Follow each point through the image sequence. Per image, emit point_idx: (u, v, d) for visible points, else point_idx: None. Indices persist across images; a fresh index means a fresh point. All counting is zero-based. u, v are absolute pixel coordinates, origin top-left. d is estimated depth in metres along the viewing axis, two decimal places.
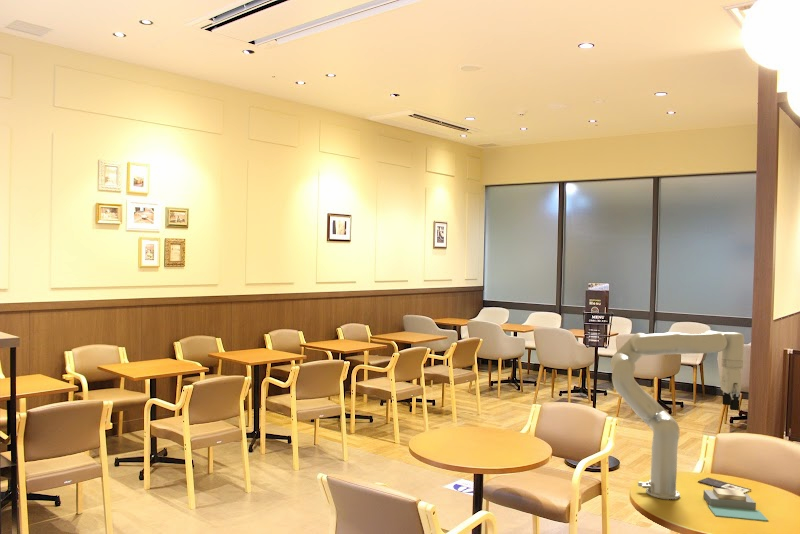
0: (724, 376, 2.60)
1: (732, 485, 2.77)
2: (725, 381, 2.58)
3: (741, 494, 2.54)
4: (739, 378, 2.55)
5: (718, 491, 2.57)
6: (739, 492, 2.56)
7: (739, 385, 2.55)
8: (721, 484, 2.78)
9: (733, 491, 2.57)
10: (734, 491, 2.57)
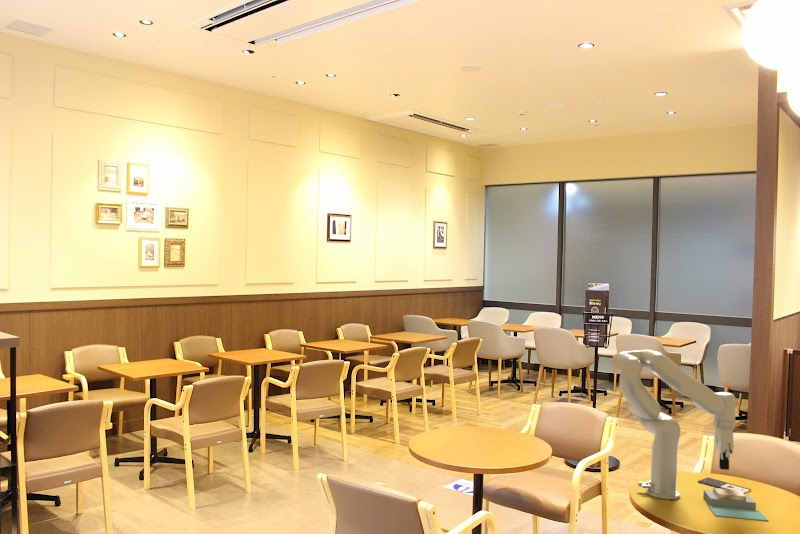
0: (717, 435, 2.66)
1: (731, 485, 2.77)
2: (718, 441, 2.65)
3: (741, 494, 2.54)
4: (731, 438, 2.61)
5: (718, 491, 2.57)
6: (739, 492, 2.56)
7: (732, 445, 2.61)
8: (721, 484, 2.78)
9: (733, 491, 2.57)
10: (734, 491, 2.57)
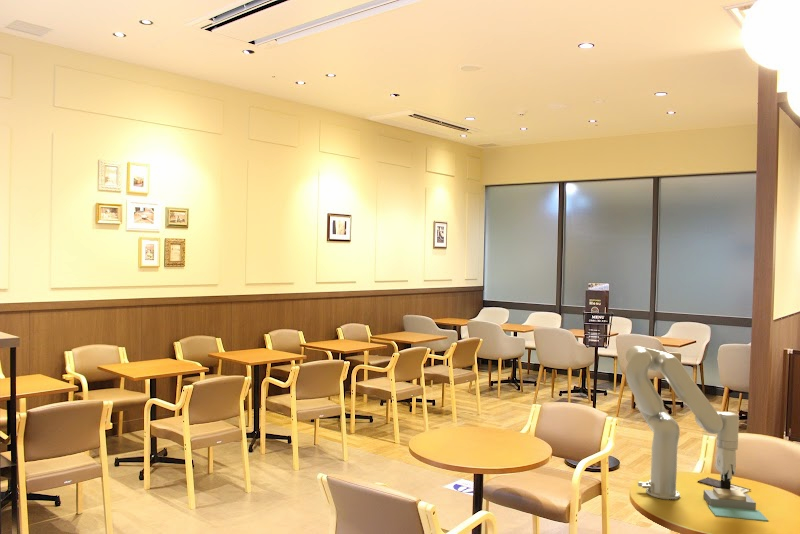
0: (719, 456, 2.61)
1: (731, 485, 2.77)
2: (720, 461, 2.60)
3: (741, 494, 2.54)
4: (734, 459, 2.56)
5: (718, 491, 2.57)
6: (740, 492, 2.56)
7: (734, 466, 2.56)
8: None
9: (733, 491, 2.57)
10: (734, 491, 2.57)
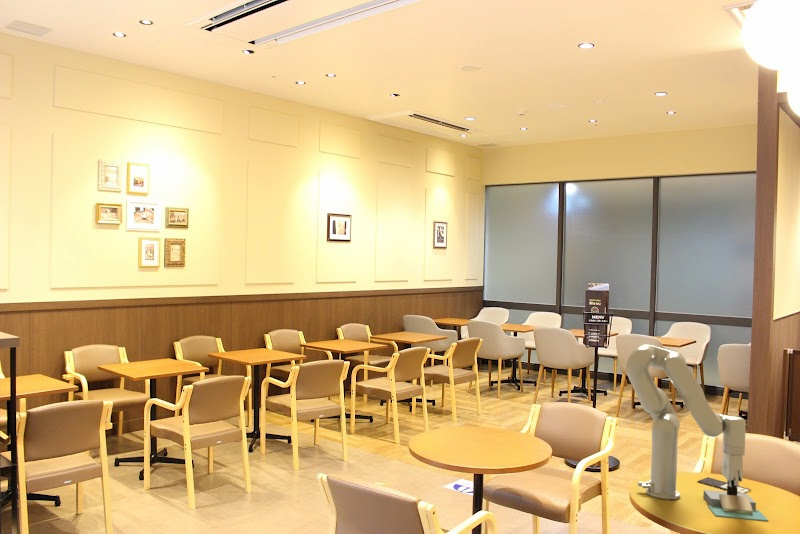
0: (725, 462, 2.53)
1: None
2: (726, 467, 2.52)
3: (748, 506, 2.47)
4: (741, 465, 2.48)
5: (724, 502, 2.49)
6: (747, 503, 2.48)
7: (741, 473, 2.48)
8: (721, 484, 2.78)
9: (740, 500, 2.49)
10: (741, 500, 2.50)
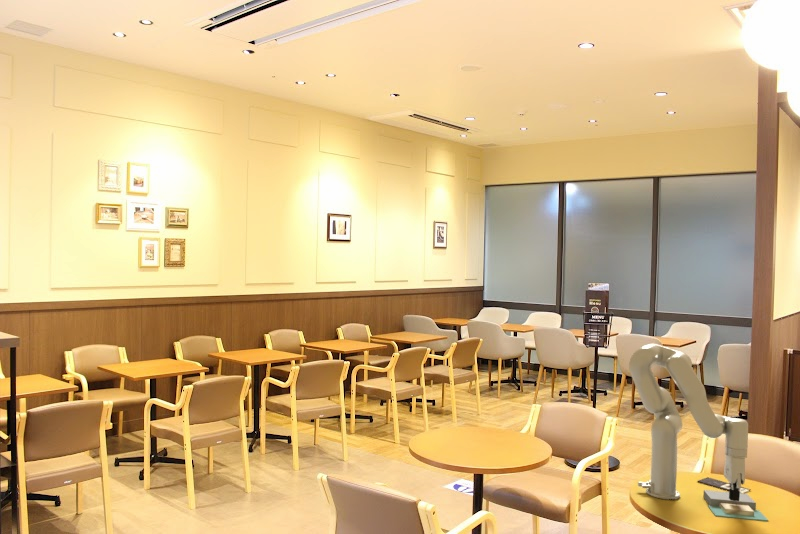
0: (728, 464, 2.50)
1: None
2: (729, 470, 2.49)
3: (749, 509, 2.46)
4: (743, 468, 2.46)
5: (725, 506, 2.48)
6: (747, 507, 2.48)
7: (743, 475, 2.45)
8: (721, 484, 2.78)
9: (740, 506, 2.49)
10: (741, 506, 2.49)
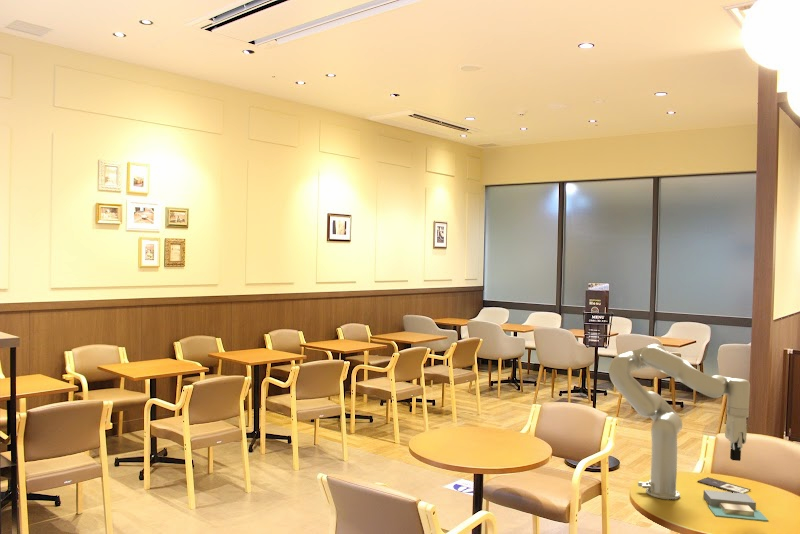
0: (729, 424, 2.50)
1: (731, 485, 2.77)
2: (730, 430, 2.49)
3: (749, 509, 2.46)
4: (745, 427, 2.45)
5: (725, 506, 2.48)
6: (747, 507, 2.48)
7: (745, 435, 2.45)
8: (720, 484, 2.78)
9: (740, 506, 2.49)
10: (741, 506, 2.49)
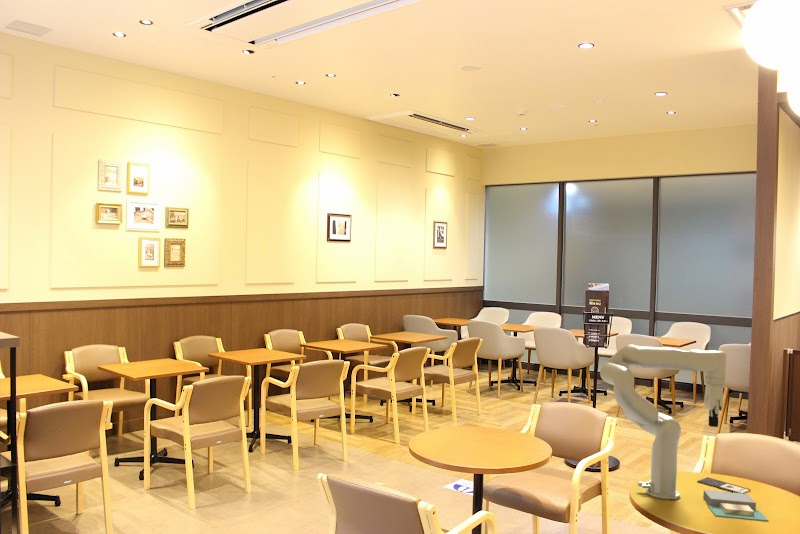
0: (707, 393, 2.68)
1: (731, 485, 2.77)
2: (708, 398, 2.67)
3: (749, 509, 2.46)
4: (721, 395, 2.64)
5: (725, 506, 2.48)
6: (747, 507, 2.48)
7: (721, 402, 2.63)
8: (720, 484, 2.78)
9: (740, 506, 2.49)
10: (741, 506, 2.49)
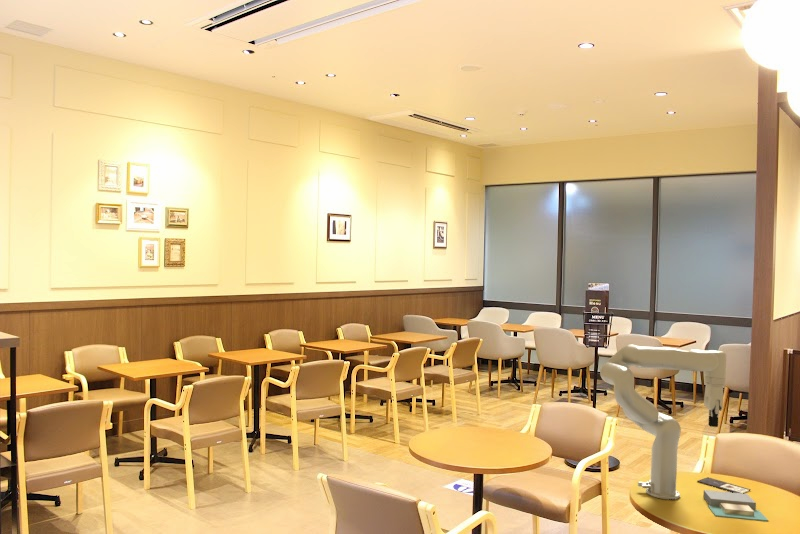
0: (707, 393, 2.68)
1: (731, 485, 2.77)
2: (708, 398, 2.67)
3: (749, 509, 2.46)
4: (721, 395, 2.64)
5: (725, 506, 2.48)
6: (747, 507, 2.48)
7: (721, 402, 2.63)
8: (720, 484, 2.78)
9: (740, 506, 2.49)
10: (741, 506, 2.49)
